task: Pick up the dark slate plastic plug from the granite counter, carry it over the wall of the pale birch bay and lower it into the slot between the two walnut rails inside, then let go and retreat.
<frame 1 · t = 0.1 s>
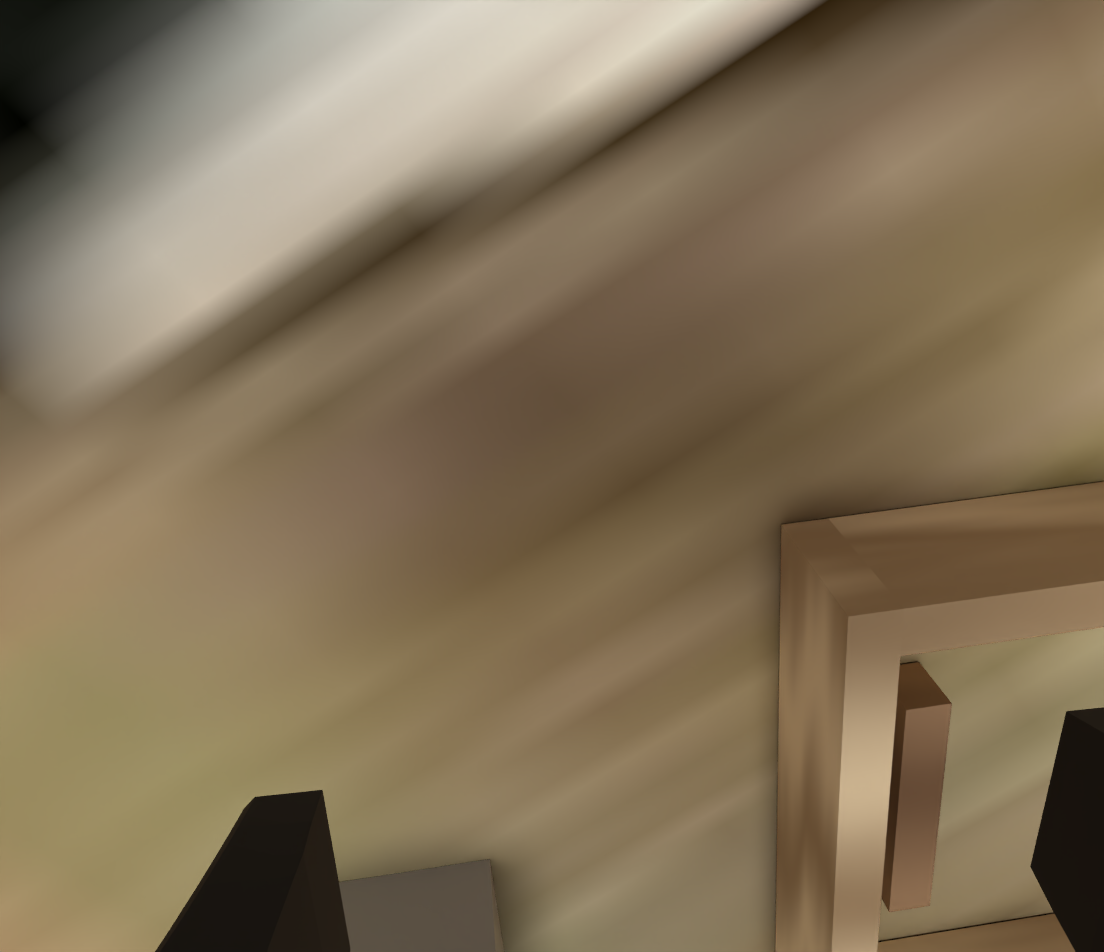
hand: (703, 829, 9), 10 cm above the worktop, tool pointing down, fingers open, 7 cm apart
birch bay: (1019, 748, 23), on the worktop
slate plug: (418, 930, 23), on the worktop
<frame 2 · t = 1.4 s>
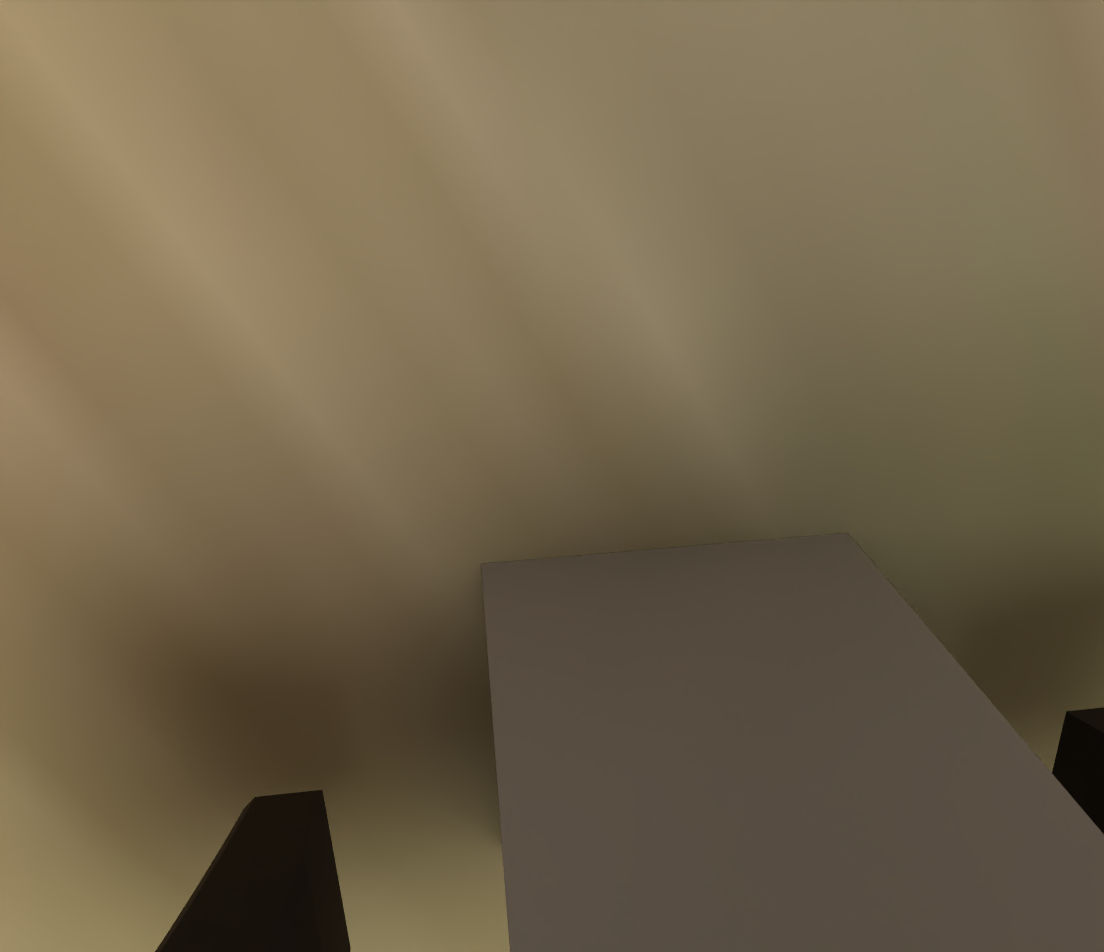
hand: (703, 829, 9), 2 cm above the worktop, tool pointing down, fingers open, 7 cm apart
slate plug: (664, 698, 11), on the worktop
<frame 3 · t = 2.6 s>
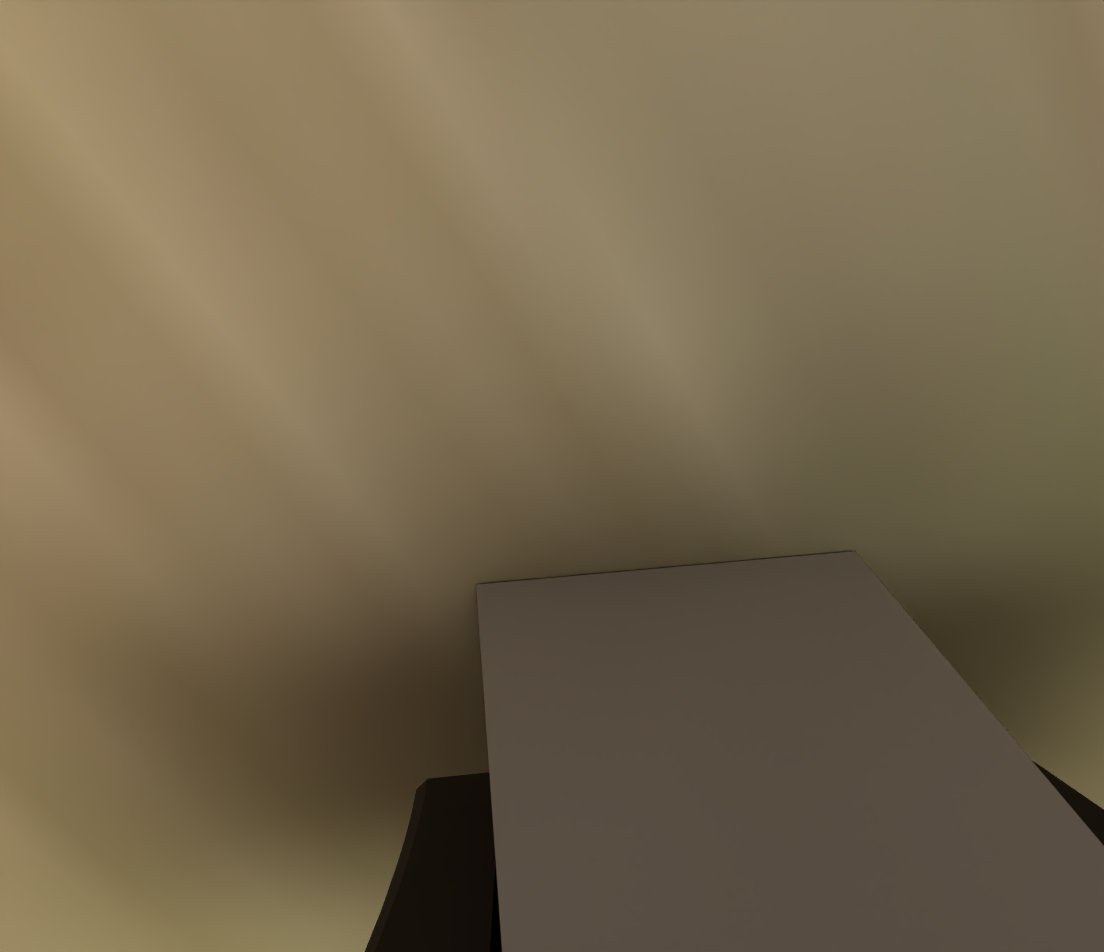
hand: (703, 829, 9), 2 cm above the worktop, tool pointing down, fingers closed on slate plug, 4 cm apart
slate plug: (666, 722, 11), on the worktop, touching gripper
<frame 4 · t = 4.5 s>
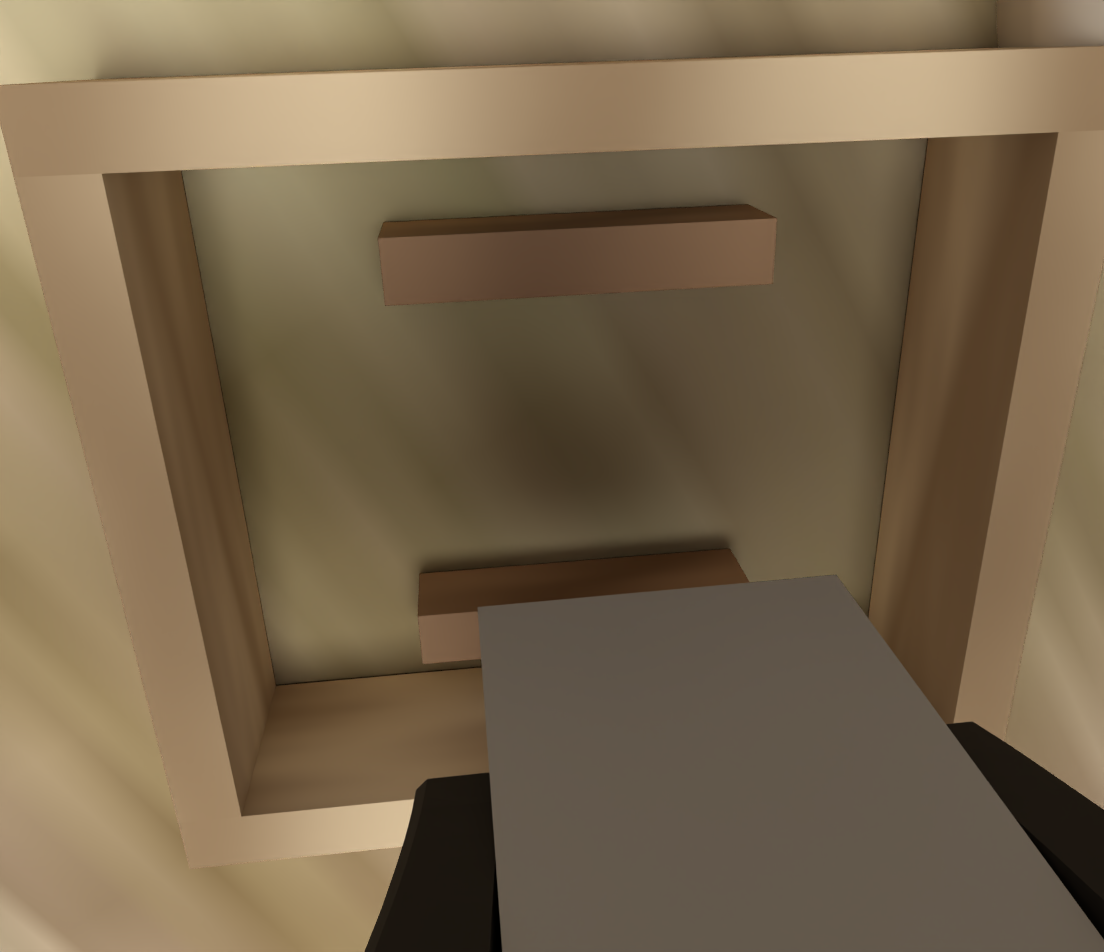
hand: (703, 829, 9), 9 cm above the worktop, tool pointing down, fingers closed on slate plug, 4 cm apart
birch bay: (573, 427, 17), on the worktop
slate plug: (657, 733, 11), point 7 cm above the worktop, touching gripper
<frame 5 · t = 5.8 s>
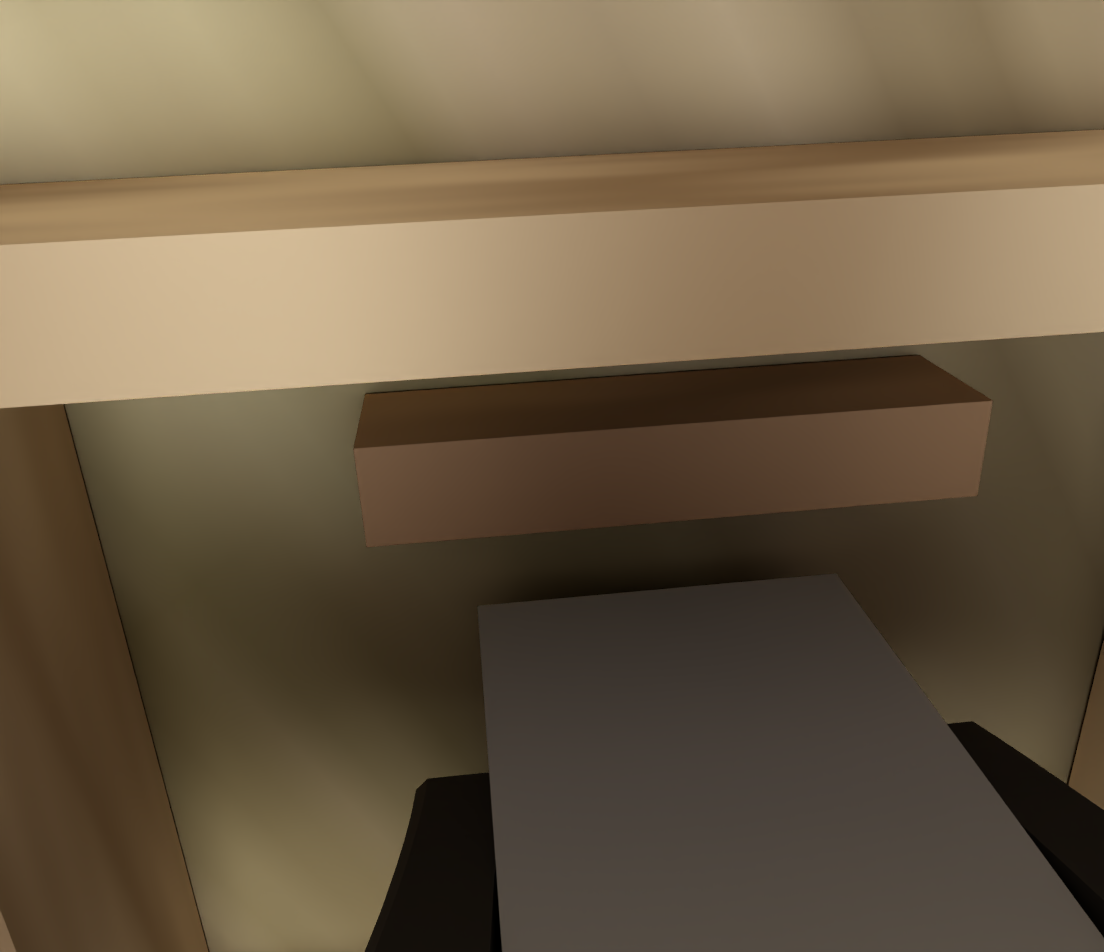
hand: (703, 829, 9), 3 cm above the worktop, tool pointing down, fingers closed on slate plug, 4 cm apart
birch bay: (647, 665, 12), on the worktop
slate plug: (657, 732, 11), point 1 cm above the worktop, touching gripper
when the fingers open (3 cm above the worktop, at t = 6.6 s): slate plug stays where it is, resting in birch bay.
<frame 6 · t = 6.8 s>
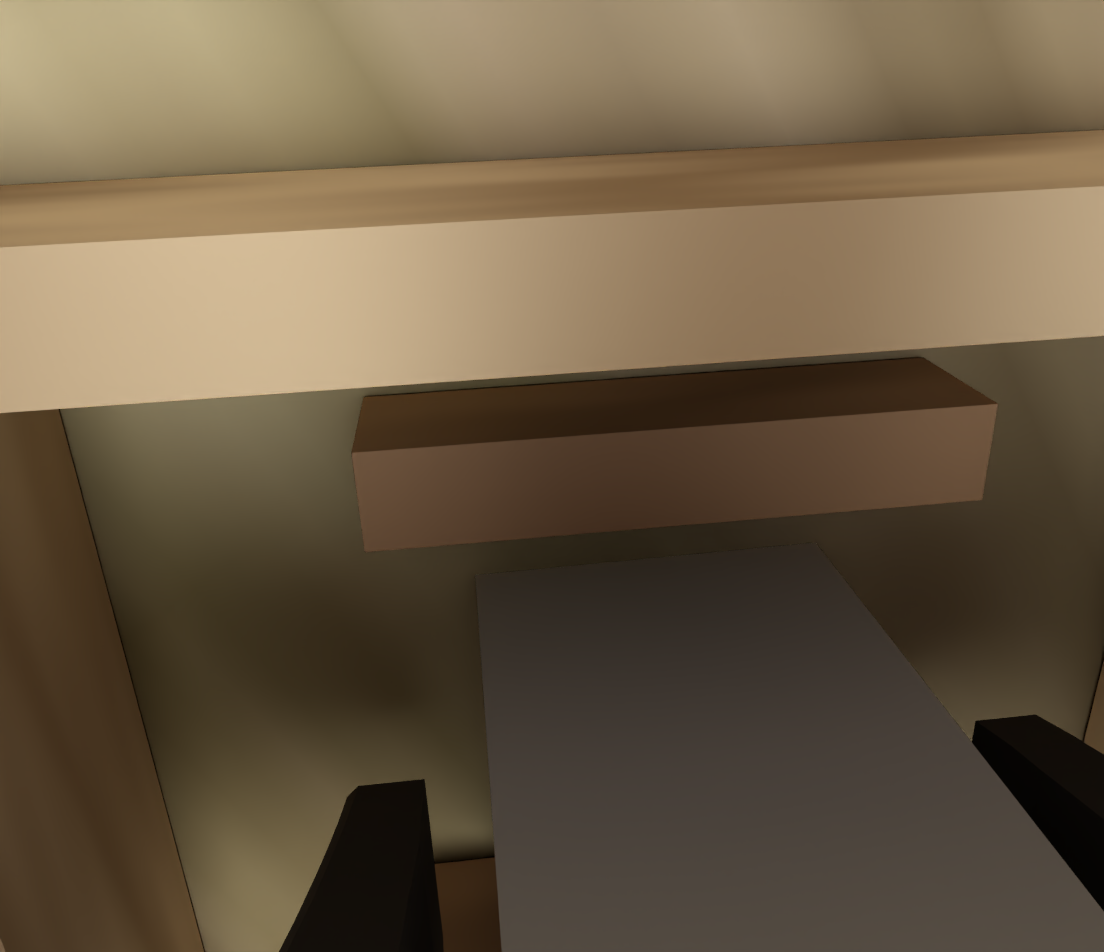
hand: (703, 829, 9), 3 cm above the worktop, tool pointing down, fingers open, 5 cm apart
birch bay: (648, 670, 11), on the worktop
slate plug: (648, 698, 12), resting in birch bay
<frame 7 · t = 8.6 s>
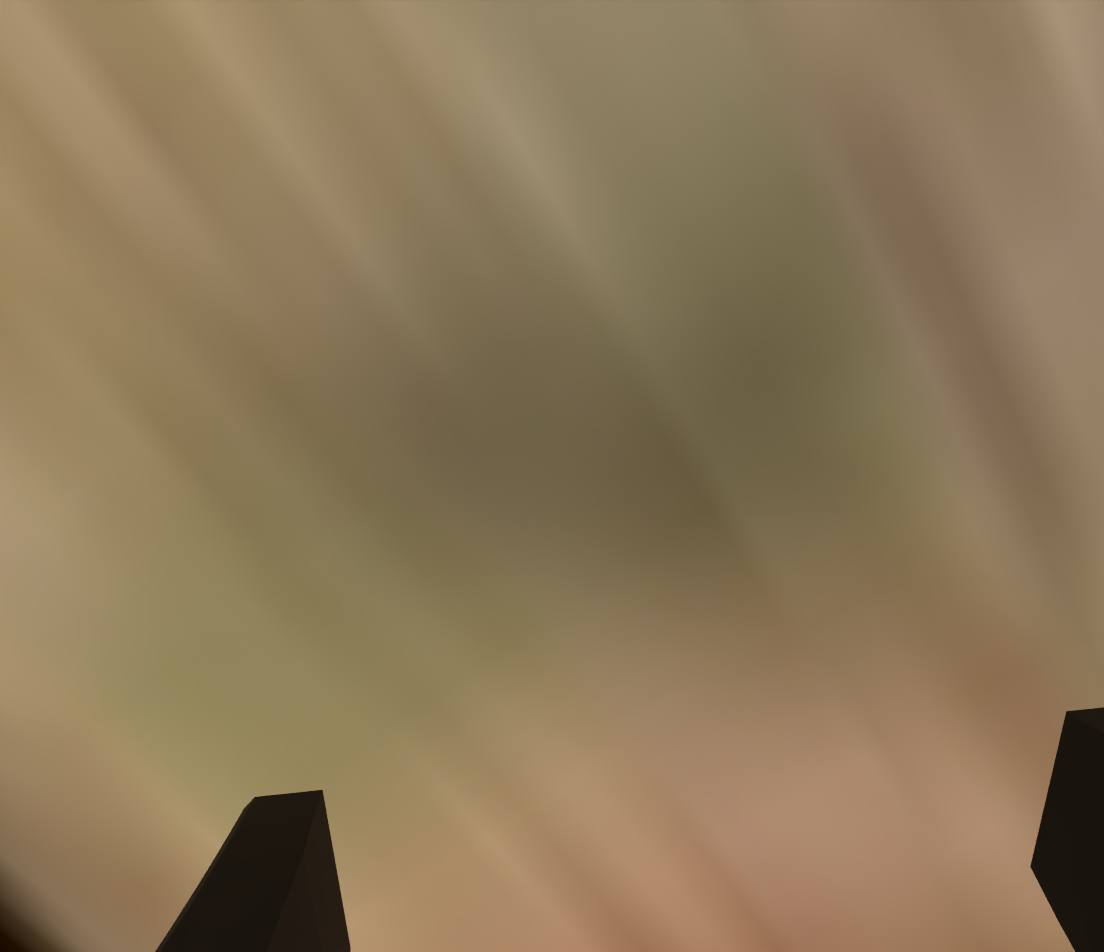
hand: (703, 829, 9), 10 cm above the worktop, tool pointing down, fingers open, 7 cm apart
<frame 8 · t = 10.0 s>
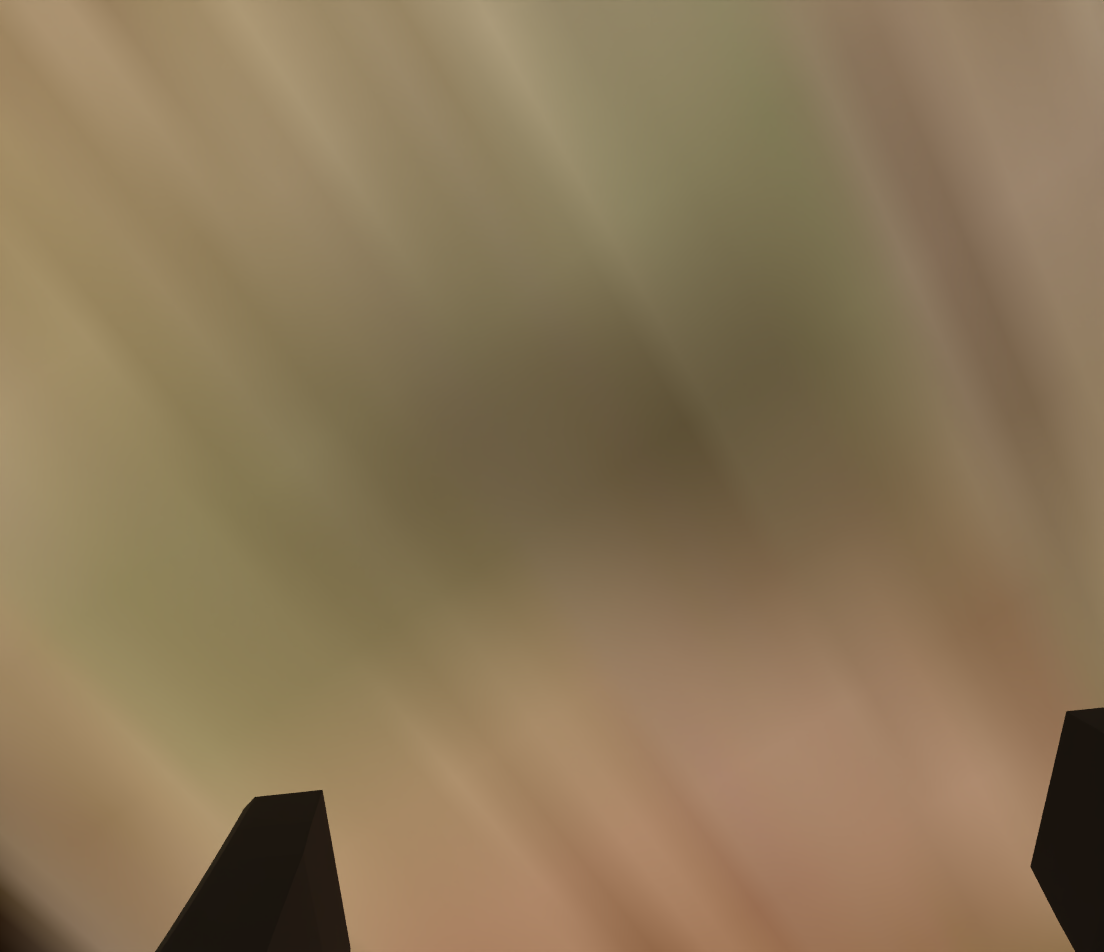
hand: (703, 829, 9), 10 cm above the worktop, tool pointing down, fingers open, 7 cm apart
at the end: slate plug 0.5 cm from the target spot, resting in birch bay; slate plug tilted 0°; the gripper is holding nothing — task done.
